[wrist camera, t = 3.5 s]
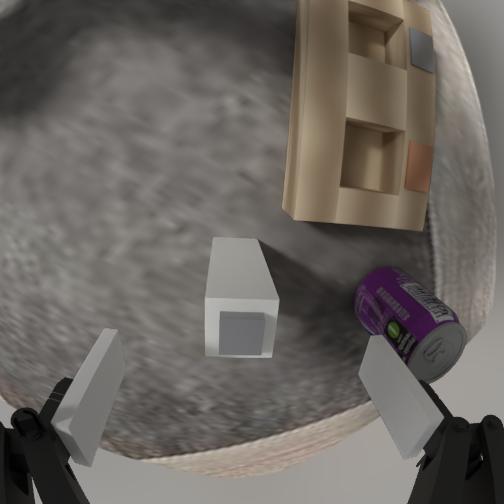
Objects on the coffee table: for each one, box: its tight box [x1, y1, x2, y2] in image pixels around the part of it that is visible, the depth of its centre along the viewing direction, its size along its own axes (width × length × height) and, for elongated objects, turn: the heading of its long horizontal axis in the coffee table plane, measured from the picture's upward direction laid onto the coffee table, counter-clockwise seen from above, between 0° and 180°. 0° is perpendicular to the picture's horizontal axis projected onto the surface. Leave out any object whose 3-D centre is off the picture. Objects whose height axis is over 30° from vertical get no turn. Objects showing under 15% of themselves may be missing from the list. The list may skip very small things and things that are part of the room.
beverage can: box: [353, 266, 467, 384], centre depth 25 cm, size 7×7×12 cm
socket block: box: [282, 0, 436, 231], centre depth 21 cm, size 12×22×5 cm, turn 176°
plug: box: [205, 237, 280, 358], centre depth 22 cm, size 4×4×13 cm
